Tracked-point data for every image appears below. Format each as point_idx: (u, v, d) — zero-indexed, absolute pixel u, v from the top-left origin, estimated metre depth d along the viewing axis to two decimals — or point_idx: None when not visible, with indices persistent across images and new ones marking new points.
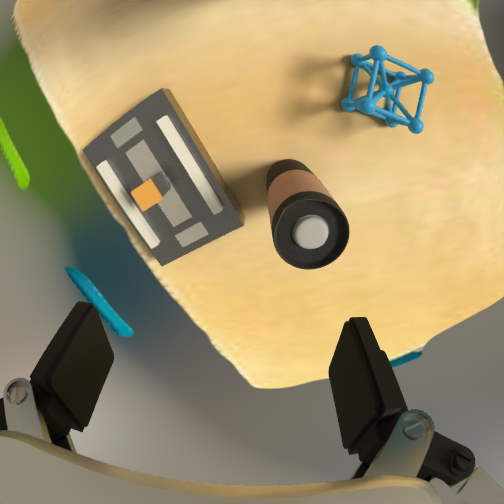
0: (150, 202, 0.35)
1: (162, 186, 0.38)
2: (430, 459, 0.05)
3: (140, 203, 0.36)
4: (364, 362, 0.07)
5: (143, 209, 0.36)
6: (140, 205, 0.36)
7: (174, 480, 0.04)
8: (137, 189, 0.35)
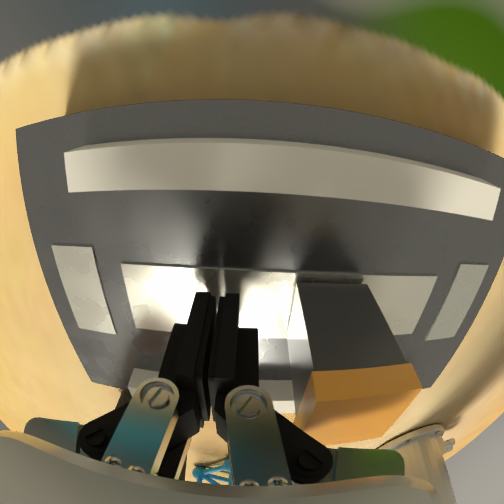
0: (319, 429, 0.07)
1: None
2: None
3: (354, 406, 0.06)
4: (217, 332, 0.08)
5: (323, 406, 0.06)
6: (348, 403, 0.06)
7: (174, 480, 0.04)
8: (399, 411, 0.07)
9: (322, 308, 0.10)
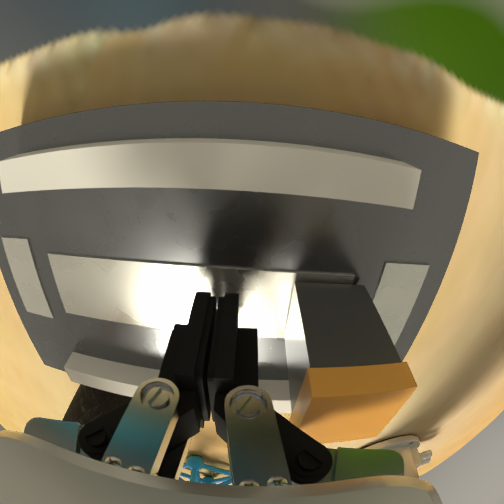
0: (314, 427, 0.07)
1: None
2: None
3: (349, 402, 0.06)
4: (216, 333, 0.08)
5: (318, 402, 0.06)
6: (343, 400, 0.06)
7: (174, 480, 0.04)
8: (394, 409, 0.07)
9: (319, 307, 0.10)
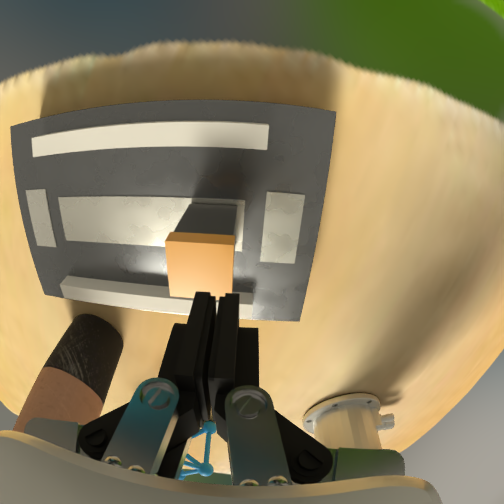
0: (176, 274, 0.14)
1: None
2: None
3: (189, 250, 0.13)
4: (217, 333, 0.08)
5: (169, 246, 0.13)
6: (184, 246, 0.13)
7: (174, 480, 0.04)
8: (227, 267, 0.13)
9: (196, 213, 0.16)
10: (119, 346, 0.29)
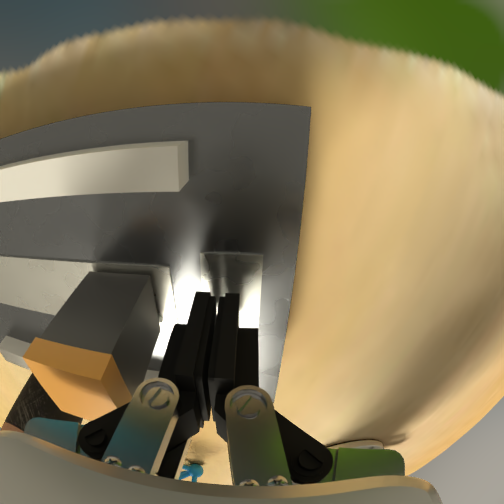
0: (54, 393, 0.07)
1: None
2: None
3: (51, 373, 0.06)
4: (217, 332, 0.08)
5: (30, 364, 0.06)
6: (44, 368, 0.06)
7: (174, 480, 0.04)
8: (107, 401, 0.07)
9: (87, 293, 0.10)
10: None
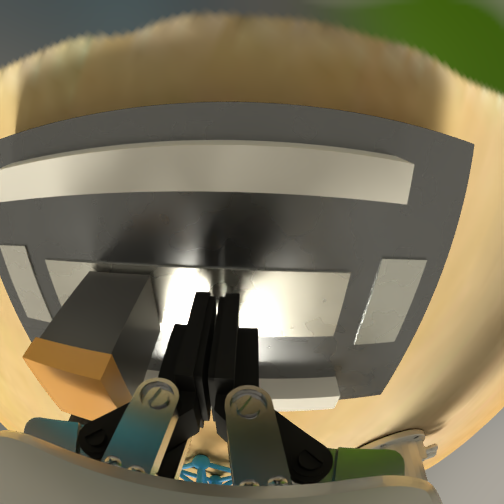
0: (54, 393, 0.07)
1: None
2: None
3: (51, 373, 0.06)
4: (217, 332, 0.08)
5: (30, 364, 0.06)
6: (44, 368, 0.06)
7: (174, 480, 0.04)
8: (107, 401, 0.07)
9: (87, 293, 0.10)
10: None
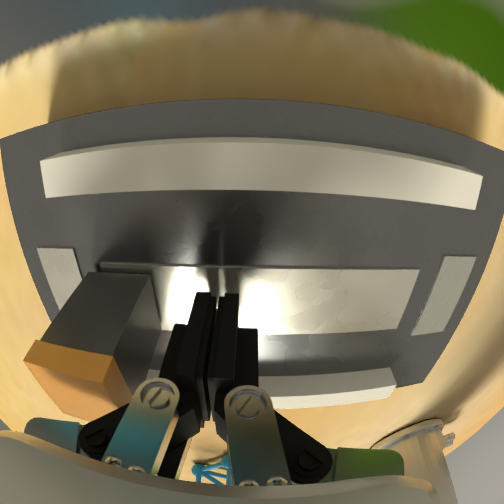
0: (56, 396, 0.07)
1: None
2: None
3: (52, 376, 0.06)
4: (216, 332, 0.08)
5: (31, 367, 0.06)
6: (45, 371, 0.06)
7: (174, 480, 0.04)
8: (109, 403, 0.07)
9: (86, 294, 0.10)
10: None
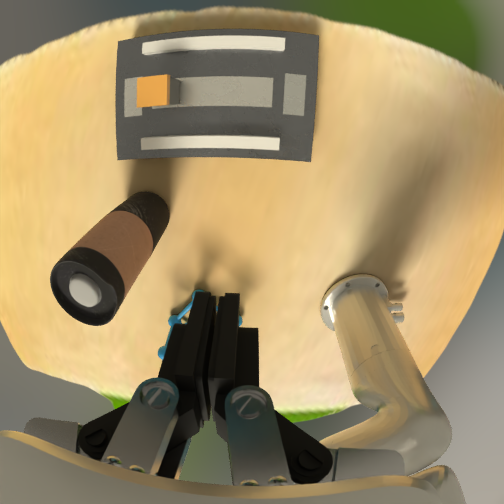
0: (141, 93, 0.23)
1: None
2: None
3: (147, 80, 0.23)
4: (217, 332, 0.08)
5: (139, 80, 0.23)
6: (145, 78, 0.22)
7: (174, 480, 0.04)
8: (164, 85, 0.23)
9: None
10: (167, 216, 0.39)
